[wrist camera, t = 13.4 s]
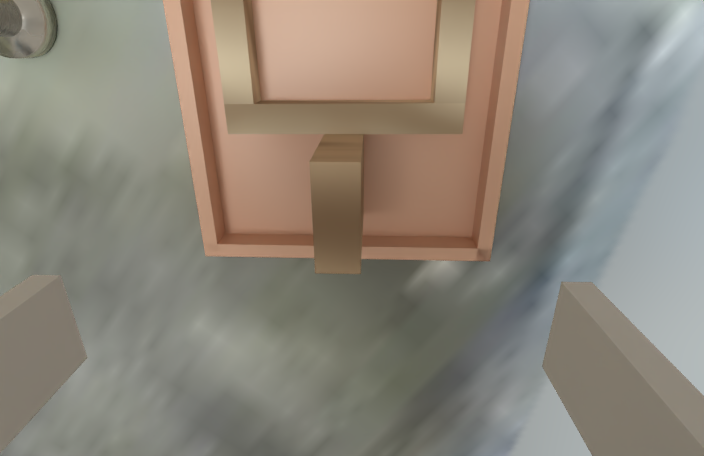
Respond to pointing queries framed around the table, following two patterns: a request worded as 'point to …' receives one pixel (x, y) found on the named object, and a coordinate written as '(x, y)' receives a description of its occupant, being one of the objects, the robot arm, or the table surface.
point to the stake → (26, 28)
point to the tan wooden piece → (341, 120)
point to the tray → (379, 149)
